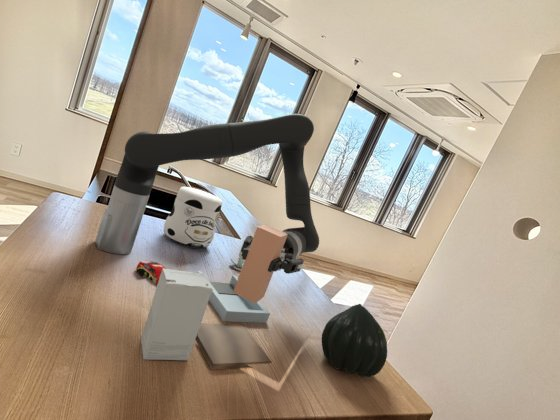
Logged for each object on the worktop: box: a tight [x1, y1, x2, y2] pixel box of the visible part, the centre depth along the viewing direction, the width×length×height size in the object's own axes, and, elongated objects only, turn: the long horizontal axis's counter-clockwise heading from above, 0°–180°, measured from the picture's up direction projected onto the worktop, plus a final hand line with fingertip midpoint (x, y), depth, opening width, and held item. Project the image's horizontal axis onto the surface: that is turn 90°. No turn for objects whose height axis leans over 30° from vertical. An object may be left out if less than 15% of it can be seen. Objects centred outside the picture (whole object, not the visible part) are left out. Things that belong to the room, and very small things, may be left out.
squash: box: [321, 303, 388, 378], centre depth 85 cm, size 14×15×15 cm
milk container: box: [163, 186, 223, 249], centre depth 127 cm, size 17×17×18 cm
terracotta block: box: [233, 224, 288, 304], centre depth 72 cm, size 5×5×14 cm
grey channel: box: [196, 270, 271, 324], centre depth 93 cm, size 12×20×4 cm, turn 33°
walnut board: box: [195, 322, 272, 371], centre depth 74 cm, size 13×13×1 cm
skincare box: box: [140, 268, 213, 361], centre depth 64 cm, size 8×6×15 cm
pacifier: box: [230, 250, 245, 272], centre depth 122 cm, size 7×6×6 cm
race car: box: [135, 260, 167, 285], centre depth 91 cm, size 13×5×4 cm, turn 53°
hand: (258, 260), depth 69 cm, fingers closed on terracotta block, 5 cm apart
